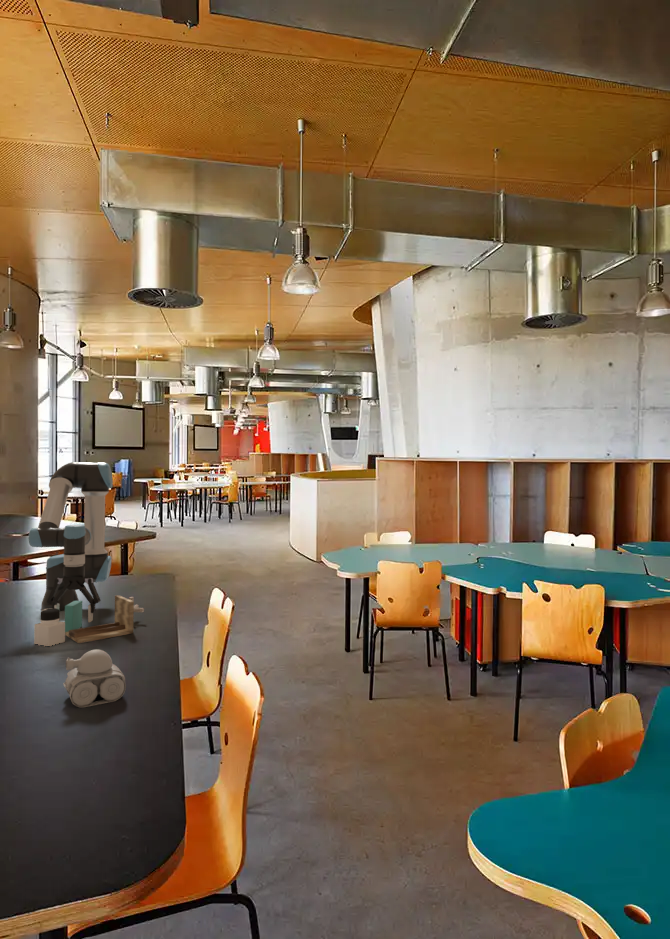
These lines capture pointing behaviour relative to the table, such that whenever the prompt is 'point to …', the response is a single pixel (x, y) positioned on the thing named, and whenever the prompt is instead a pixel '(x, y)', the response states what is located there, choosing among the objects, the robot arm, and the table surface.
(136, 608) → the pipe connector
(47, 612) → the medicine bottle
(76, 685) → the toy tank
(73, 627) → the teal rectangular block
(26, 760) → the table surface
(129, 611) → the wooden slatted rack
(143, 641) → the table surface
